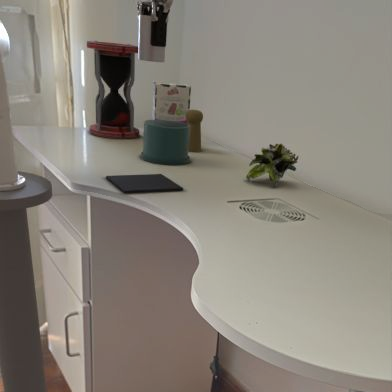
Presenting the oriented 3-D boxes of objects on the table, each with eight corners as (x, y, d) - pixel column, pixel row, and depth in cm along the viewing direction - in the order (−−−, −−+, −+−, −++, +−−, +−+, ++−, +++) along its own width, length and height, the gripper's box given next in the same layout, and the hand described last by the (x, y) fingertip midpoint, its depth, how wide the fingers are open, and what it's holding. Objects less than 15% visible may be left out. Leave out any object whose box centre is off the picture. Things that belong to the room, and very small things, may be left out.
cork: (205, 150, 145) (208, 111, 139) (194, 152, 141) (197, 112, 135) (189, 146, 148) (192, 107, 141) (177, 148, 143) (180, 108, 137)
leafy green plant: (267, 200, 125) (297, 162, 122) (279, 205, 115) (312, 164, 112) (235, 172, 121) (266, 132, 118) (245, 175, 111) (279, 131, 108)
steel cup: (144, 61, 94) (145, 14, 89) (134, 58, 97) (135, 14, 93) (168, 63, 96) (171, 18, 92) (157, 60, 100) (159, 17, 96)
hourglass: (117, 141, 144) (117, 45, 131) (78, 131, 151) (74, 39, 137) (148, 135, 156) (151, 47, 142) (111, 127, 163) (111, 41, 149)
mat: (124, 193, 100) (124, 190, 99) (106, 178, 108) (106, 175, 108) (183, 190, 106) (183, 187, 106) (161, 176, 114) (161, 173, 114)
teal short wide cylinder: (152, 165, 123) (154, 128, 118) (133, 153, 132) (134, 118, 127) (198, 164, 128) (201, 128, 123) (176, 153, 138) (178, 119, 133)
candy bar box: (184, 140, 155) (188, 84, 146) (187, 143, 151) (192, 86, 142) (150, 138, 152) (152, 81, 143) (153, 142, 148) (155, 83, 139)
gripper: (119, -72, 89) (119, 40, 99) (156, -83, 77) (152, 46, 87) (155, -65, 93) (151, 44, 103) (196, -74, 81) (187, 50, 91)
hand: (151, 44), depth 95 cm, fingers closed on steel cup, 5 cm apart
